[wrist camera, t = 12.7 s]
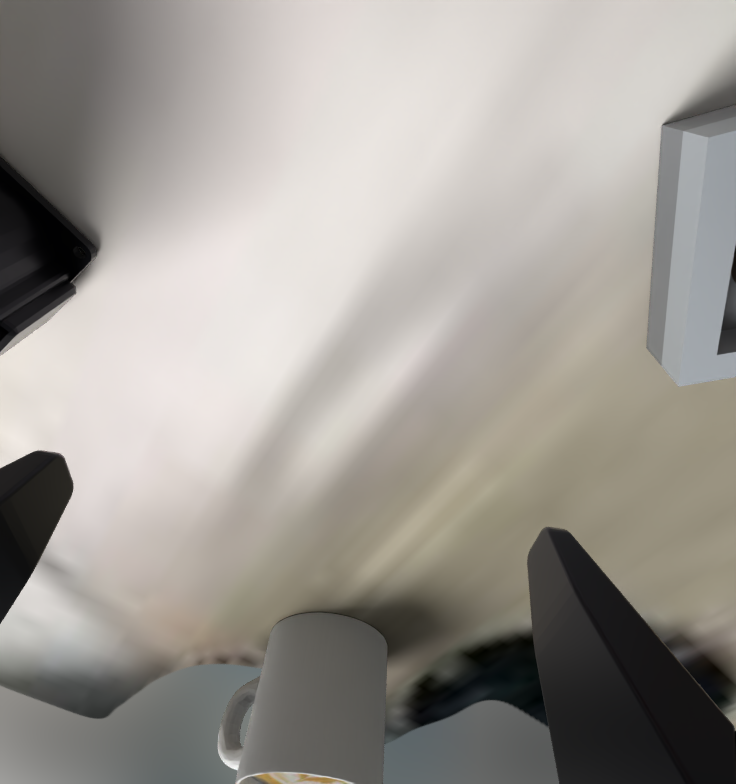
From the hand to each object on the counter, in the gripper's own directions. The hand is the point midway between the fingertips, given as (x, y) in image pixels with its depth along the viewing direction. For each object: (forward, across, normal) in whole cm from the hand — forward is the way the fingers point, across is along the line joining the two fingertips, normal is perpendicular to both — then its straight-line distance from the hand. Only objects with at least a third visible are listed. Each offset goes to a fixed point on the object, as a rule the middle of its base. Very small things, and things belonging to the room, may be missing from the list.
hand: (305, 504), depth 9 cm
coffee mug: (+13, 0, +34) cm, 36 cm away
